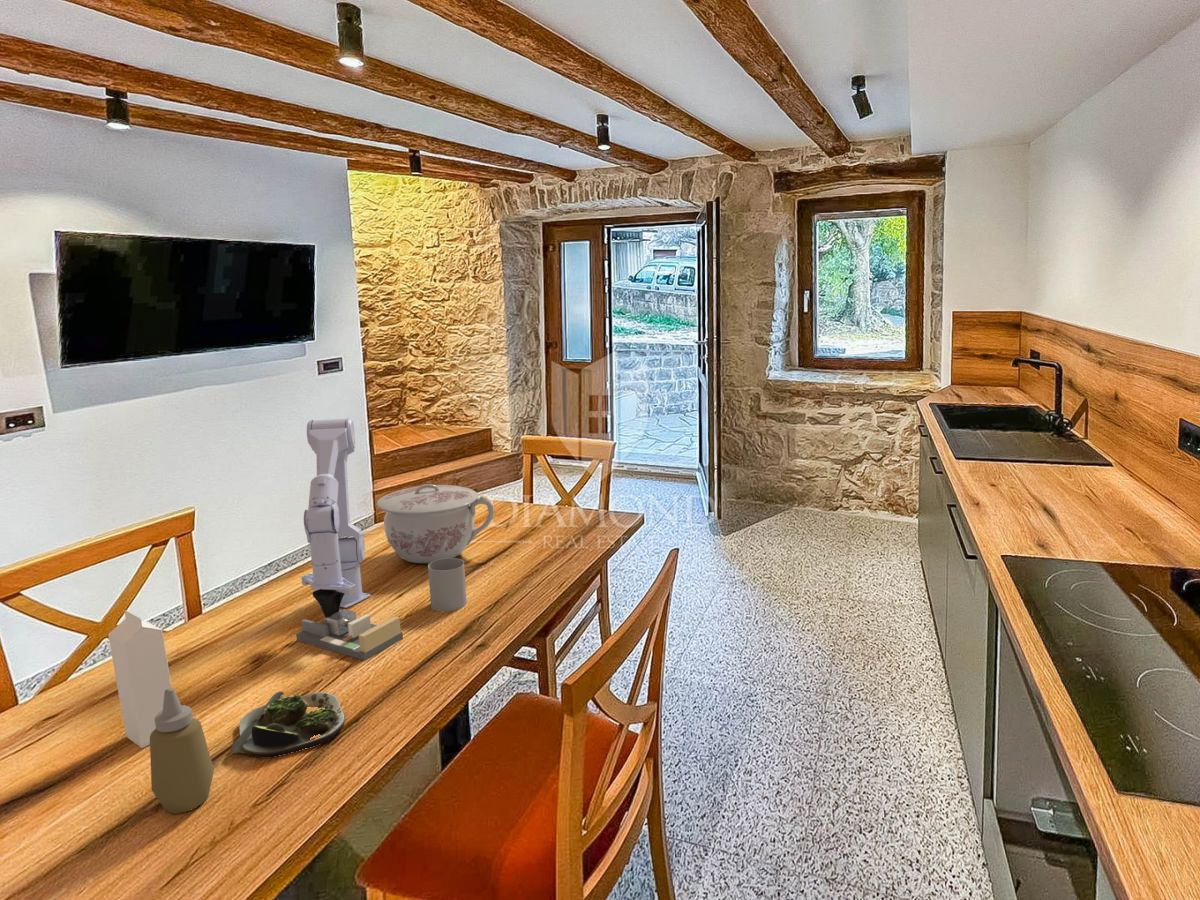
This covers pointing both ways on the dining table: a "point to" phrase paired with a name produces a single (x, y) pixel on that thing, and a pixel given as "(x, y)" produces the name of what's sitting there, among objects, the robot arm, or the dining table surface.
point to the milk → (139, 675)
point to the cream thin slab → (358, 627)
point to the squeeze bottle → (179, 757)
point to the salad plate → (289, 724)
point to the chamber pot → (432, 521)
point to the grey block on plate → (340, 621)
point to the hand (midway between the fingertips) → (332, 620)
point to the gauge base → (356, 646)
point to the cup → (447, 584)
